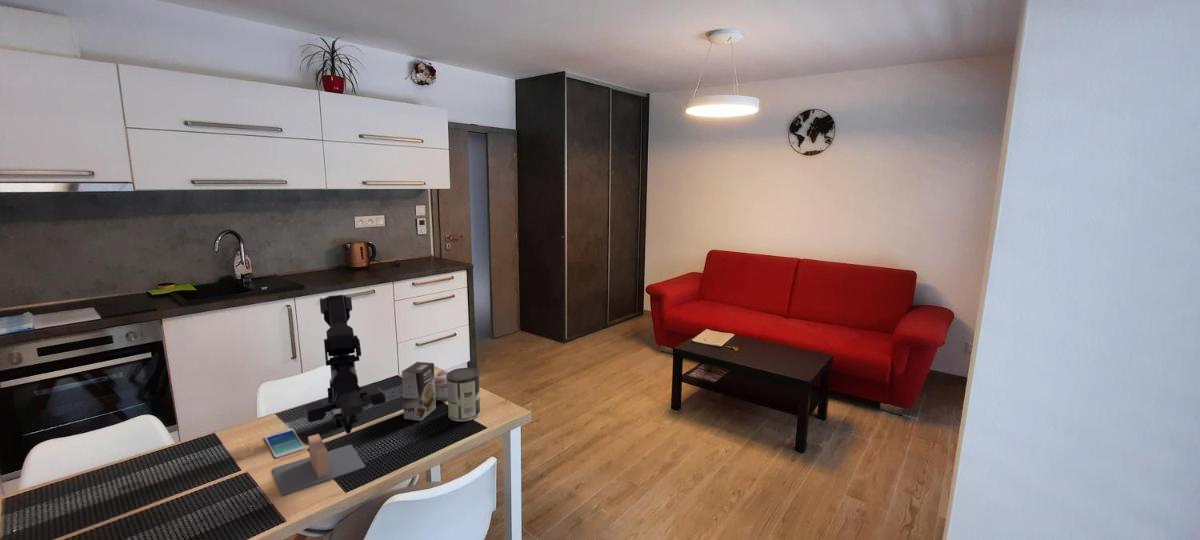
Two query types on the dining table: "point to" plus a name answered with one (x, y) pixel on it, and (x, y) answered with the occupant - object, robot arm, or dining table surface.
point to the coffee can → (463, 394)
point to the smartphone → (284, 443)
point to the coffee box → (418, 390)
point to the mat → (304, 474)
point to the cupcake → (441, 385)
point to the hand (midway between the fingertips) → (348, 433)
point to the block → (318, 455)
